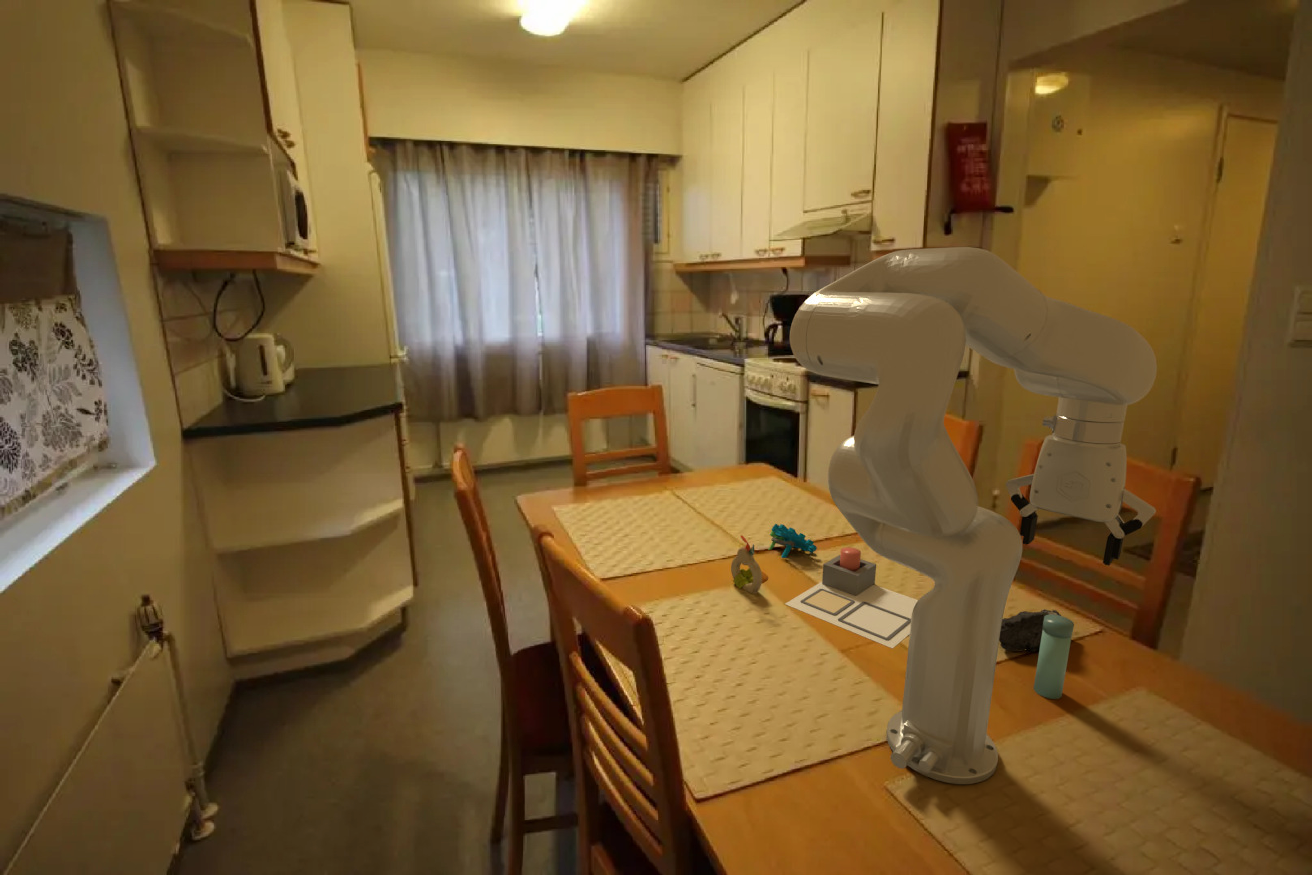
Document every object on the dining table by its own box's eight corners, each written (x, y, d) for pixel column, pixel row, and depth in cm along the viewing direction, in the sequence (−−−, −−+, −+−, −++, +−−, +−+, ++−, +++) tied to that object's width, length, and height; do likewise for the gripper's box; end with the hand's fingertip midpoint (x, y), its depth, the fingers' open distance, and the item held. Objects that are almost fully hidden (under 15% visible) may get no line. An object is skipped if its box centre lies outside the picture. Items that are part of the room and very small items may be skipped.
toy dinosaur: (827, 551, 134) (800, 525, 129) (813, 576, 132) (787, 550, 127) (788, 541, 143) (762, 516, 138) (775, 564, 141) (749, 540, 137)
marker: (1058, 702, 89) (1069, 630, 86) (1029, 691, 91) (1040, 620, 89) (1065, 691, 91) (1077, 620, 89) (1037, 680, 94) (1048, 611, 91)
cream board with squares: (892, 651, 101) (892, 647, 101) (784, 606, 115) (784, 603, 115) (939, 610, 113) (940, 607, 113) (837, 574, 127) (837, 571, 127)
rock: (1023, 632, 96) (1024, 576, 102) (978, 645, 102) (981, 592, 109) (1086, 671, 97) (1083, 613, 103) (1037, 682, 104) (1037, 627, 110)
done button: (852, 582, 119) (854, 556, 118) (835, 575, 122) (837, 551, 121) (862, 575, 122) (864, 551, 121) (845, 569, 124) (846, 545, 123)
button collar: (856, 596, 117) (857, 575, 116) (822, 583, 122) (823, 564, 121) (874, 583, 122) (876, 564, 121) (841, 572, 127) (842, 553, 126)
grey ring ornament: (785, 593, 120) (788, 535, 117) (745, 601, 117) (747, 542, 114) (764, 576, 127) (767, 521, 124) (727, 583, 124) (728, 527, 121)
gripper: (1007, 424, 89) (990, 541, 93) (1164, 447, 77) (1138, 580, 81) (1023, 417, 94) (1007, 528, 98) (1173, 437, 82) (1148, 562, 86)
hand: (1066, 551), depth 90 cm, fingers open, 9 cm apart
